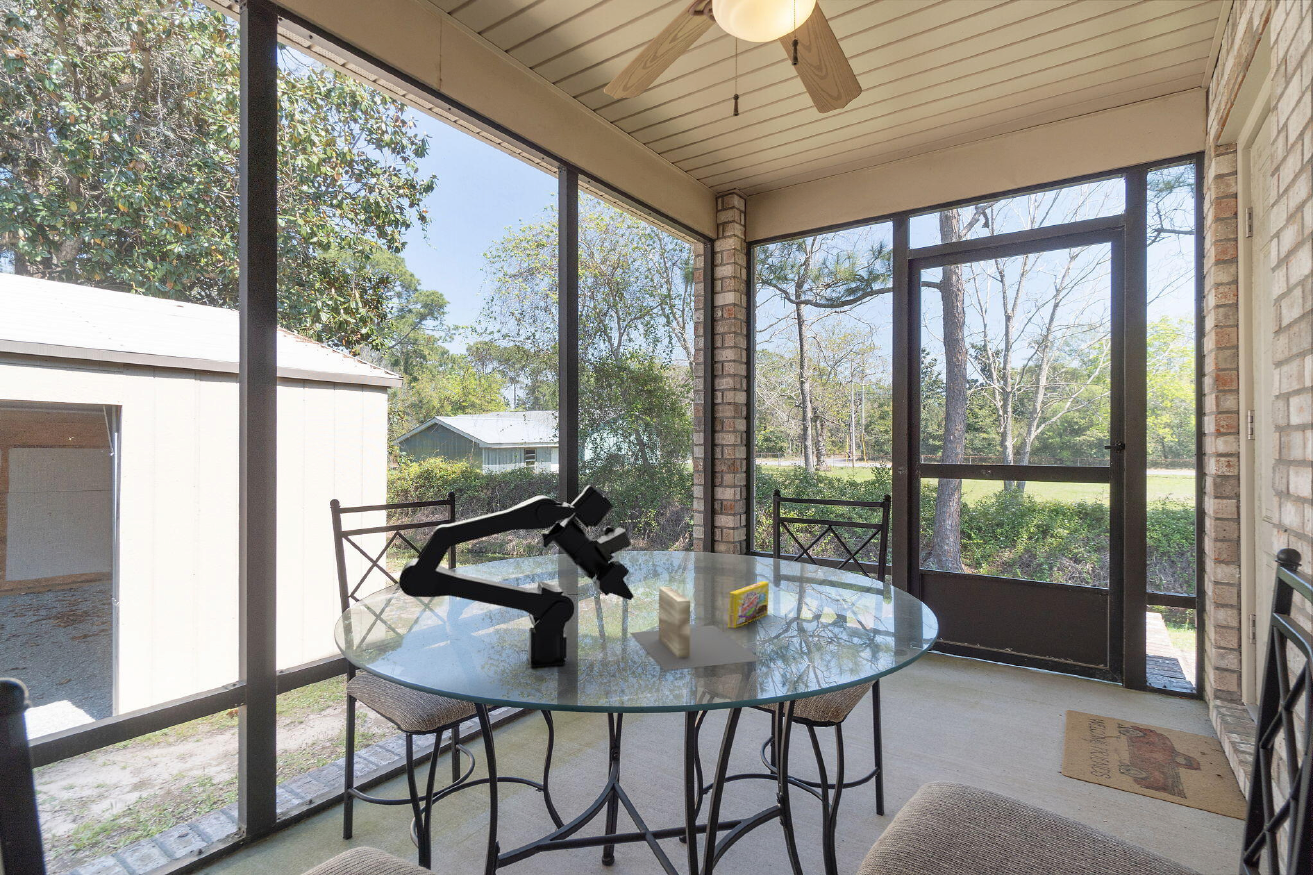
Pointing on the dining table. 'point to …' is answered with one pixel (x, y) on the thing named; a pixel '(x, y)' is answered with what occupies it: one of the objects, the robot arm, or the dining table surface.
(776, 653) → the dining table surface
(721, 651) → the mat
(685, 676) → the dining table surface
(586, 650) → the dining table surface
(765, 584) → the candy box
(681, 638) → the birch tile
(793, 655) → the dining table surface
